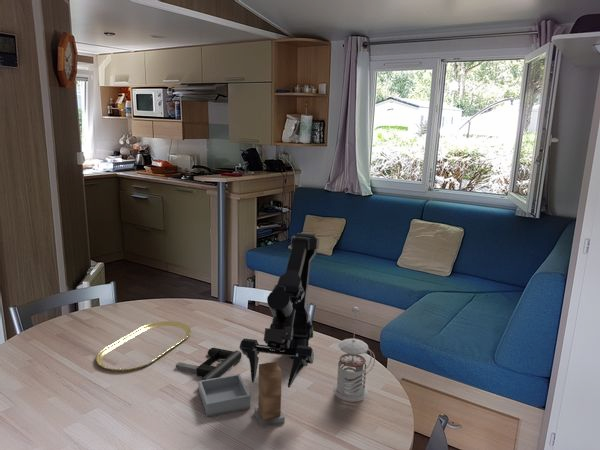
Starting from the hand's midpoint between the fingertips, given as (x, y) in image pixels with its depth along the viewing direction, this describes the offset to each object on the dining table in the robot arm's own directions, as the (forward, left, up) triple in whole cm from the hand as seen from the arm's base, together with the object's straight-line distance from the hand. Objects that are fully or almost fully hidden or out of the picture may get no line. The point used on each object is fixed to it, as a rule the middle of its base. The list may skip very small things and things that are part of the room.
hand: (270, 384), depth 114 cm
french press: (-26, -3, -9) cm, 27 cm away
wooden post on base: (0, +1, -9) cm, 9 cm away
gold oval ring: (+26, -48, -9) cm, 56 cm away
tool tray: (+9, -10, -9) cm, 17 cm away
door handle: (+11, -28, -9) cm, 32 cm away
